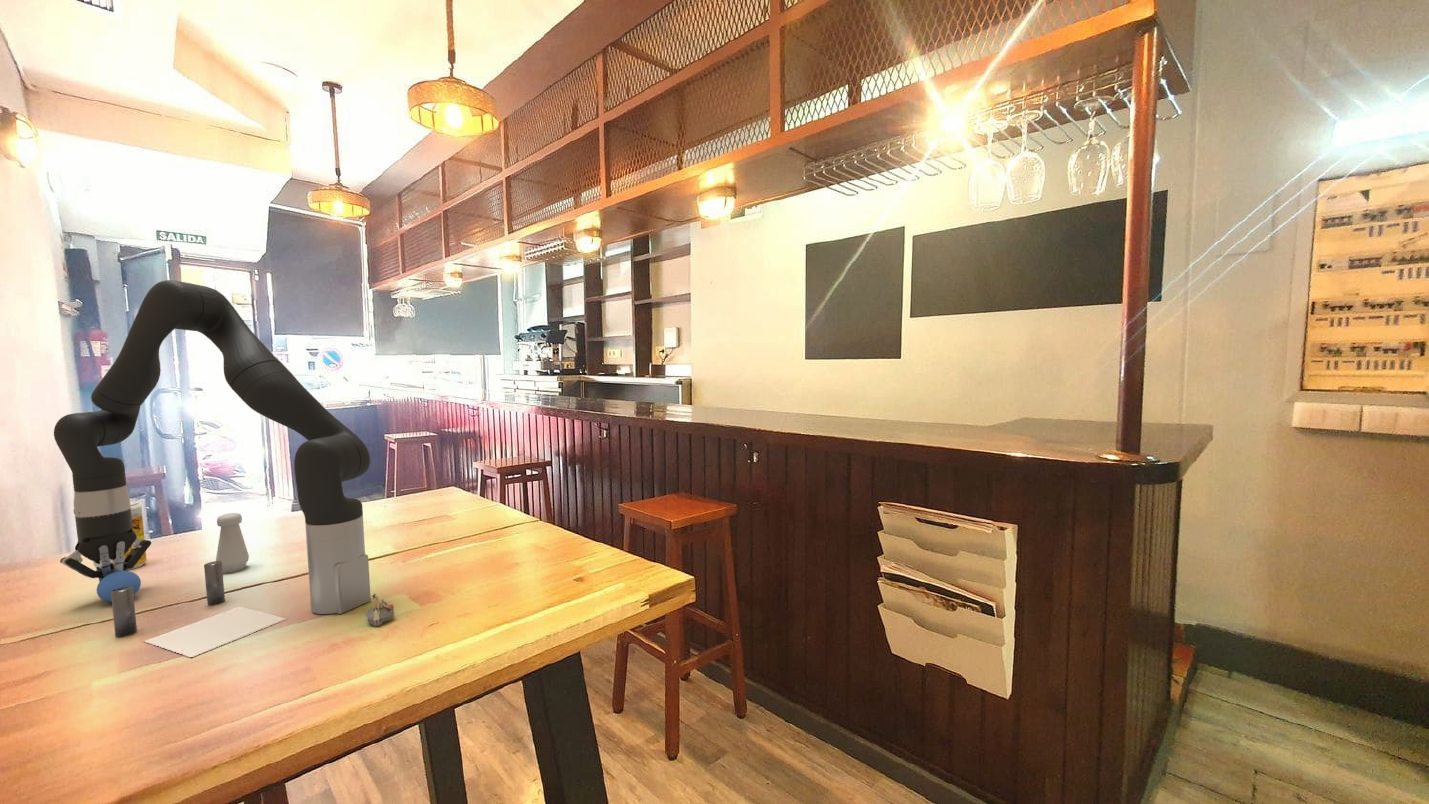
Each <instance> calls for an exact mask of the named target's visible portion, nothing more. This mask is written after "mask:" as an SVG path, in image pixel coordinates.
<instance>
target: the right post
mask: <svg viewBox="0 0 1429 804" xmlns="http://www.w3.org/2000/svg"><path fill="white" fill-rule="evenodd" d="M203 569H204V570H203V571H204V580H205V592H206V593H205V594H206V602H207V604H208V605H207V606H216V605H215V604H217V605H219V604H223V603H225V602H226V596H225V585H224V584H225V583H224V573H223V569H222V561H216V560H214V561H209V562H207V563H205V564H203Z"/></svg>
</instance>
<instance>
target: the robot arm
mask: <svg viewBox="0 0 1429 804" xmlns="http://www.w3.org/2000/svg"><path fill="white" fill-rule="evenodd" d="M174 330H184V331H192V332H198V333H201V334H202V335H204V336H205V337H206V338H207V339H209V340H210V341H211V342H212V343H213V344H214V345H215V346H216V348H217V349H218V350H219V351H220V352H221V354H222V357H223V375H224V379H225V382H226V383H227V384H228V385H229V387H230V388H231V390H232V391H233V392H234V393H235V394H236V395H237V396H238V397H239V398H240V399H241V401H243V402H244V404H246V405H247V407H248V408H250V409H251V410H252V411H254V412H256V413H257V414H259V415H261V416H263V417H265V418H267V419H269V420H271V421H273V422H276V423H278V424H280V425H282V426H284V427H286V428H288V429H290V430H293V431H295V432H296V433H297V434H299V435H301V436H302V437H304V438H305V440H306V441H304V442H302V444H300V445H299V447H298V448H297V450H296V452H295V454H294V462H293V464H294V465H293V468H294V476H295V477H294V478H295V486H296V491H297V492H296V493H297V501H298V504H299V508H300V510H301V512H302V513H303V515H304V516H303V517H304V523H305V536H306V537H305V538H306V551H307V553H306V554H307V568H308V569H307V571H308V580H309V583H308V584H309V593H310V594H309V596H310V608H311V609H310V610H311V612H312V613H313V614H318V615H331V614H338V615H339V614H344V613H346V612H349V611H350V610H352V609H356V608H358V607H360V606H361V605H364V604H367V603H369V602H371V601H372V600H371V599H372V598H371V597H372V596H371V582H370V565H369V563H370V562H369V555H368V554H366V549H365V548H366V546H365V531H364V528H365V527H364V511H363V503H362V501H361V500H359V499H357V498H353V497H346V496H345V494H344V490H343V484H342V483H343V482H347V481H350V480H354V479H356V478H359V477H360V476H363V475H364V474H365V473H366V472H368V470H369V468H370V464H371V456H370V452H369V450H368V447H367V445H366V444H365V443H364V442H363V441H362V440H361V438H359V436H358V435H356V434H355V432H353V431H352V430H351V429H350V428H349V427H347V426H346V425H345V424H344V423H342V422H341V421H340V419H337V418H336V417H335V416H334V415H333V414H332V413H330V412H329V410H327V409H326V408H325V407H324V406H323V405H322V404H321V403H320V402H319V401H318V400H317V399H316V398H315V397H314V396H313V395H312V393H310V392H309V391H308V389H306V388H305V387H304V386H303V385H302V384H301V382H300V381H299V380H298V379H297V378H296V376H295V375H294V374H293V373H292V372H291V371H290V370H289V369H288V368H287V367H286V366H285V365H284V364H283V362H282V361H281V360H279V359H278V358H277V357H276V356H275V355H274V353H272V352H271V351H270V349H268V347H266V345H265V344H264V343H263V342H262V340H261V339H260V338H258V337H257V335H255V333H254V332H253V331H252V330H251V328H250V327H249V326H248V325H247V323H246V322H245V321H244V319H243V318H242V317H241V315H240V314H239V312H237V310H236V309H235V307H234V306H233V305H232V303H231V302H230V301H229V300H228V298H227V297H226V296H225V295H224V294H223V293H222V292H220V291H218V290H217V289H215V288H212V287H209V286H207V285H206V286H205V285H200V284H196V283H191V282H185V281H180V280H173V279H167V280H166V279H165V280H162V281H159V282H156V284H154V285H153V286H152V287H151V288H150V289H149V290H148V292H147V293H146V295H145V296H144V298H143V300H142V302H141V304H140V305H139V308H138V311H137V313H136V315H135V318H134V320H133V322H132V324H131V327H130V329H129V331H128V333H127V336H126V338H125V341H124V343H123V345H122V348H121V350H120V352H119V354H118V355H117V357H116V359H115V361H114V362H113V364H111V367H110V368H109V369H108V371H106V373H105V375H104V376H103V377H102V379H101V380H100V381H99V383H98V384H97V385H96V386H95V388H94V390H93V391H92V393H91V396H90V398H91V402H92V404H94V406H96V407H97V408H99V409H100V410H98V411H87V412H75V413H69V414H66V415H64V416H62V417H60V419H58V421H57V422H56V424H55V425H54V428H53V429H54V430H53V437H54V440H55V441H54V442H55V443H56V445H57V447H58V449H59V450H60V452H61V454H62V456H63V459H65V462H66V463H67V465H68V467H69V469H70V470H71V475H72V485H73V492H74V494H73V496H74V497H73V514H74V520H75V526H76V527H75V529H76V535H77V536H76V537H77V542H76V544H75V546H74V551H73V552H72V553H70V554H69V555H68V556H66V557H65V556H64V557H62V558H61V559H60V560H59V561H60V564H63V566H66V567H68V568H69V569H72V570H73V571H75V572H77V573H79V574H81V575H82V576H84V577H87V578H90V579H97V578H98V583H99V582H100V581H101V580H102V579H103V578H104V577H106V576H107V575H109V574H111V573H114V572H117V571H125V570H126V571H128V570H127V569H131V568H133V567H134V566H135V564H136V563H137V562H138V561H139V559H140V558H141V557H142V555H143V554H144V553H145V551H146V552H147V550H148V549H149V547H151V545H152V541H151V540H147V539H145V540H143V539H140V538H137V535H136V534H135V533H134V532H133V525H132V515H131V506H130V501H131V499H130V497H131V496H130V493H129V490H128V486H127V478H126V469H125V464H124V461H123V460H122V459H120V458H118V457H112V456H110V457H109V456H105V457H104V456H103V455H102V453H101V452H100V450H99V448H98V447H105V446H110V445H111V446H112V445H116V444H120V443H121V442H124V441H125V440H126V439H128V438H129V437H130V436H131V435H132V434H133V432H134V431H135V428H136V425H137V421H138V417H139V414H140V409H141V406H142V405H144V402H145V401H146V399H148V397H149V396H150V394H151V393H152V392H153V390H154V389H155V388H156V386H157V384H158V383H159V380H160V376H161V371H162V370H161V363H160V362H161V361H160V360H161V359H160V348H161V346H162V343H163V341H164V340H165V339H166V338H167V337H168V336H169V334H171V333H172V332H173V331H174ZM132 544H133V545H132ZM131 545H132V548H133V549H132V550H131V551H130V553H129V554H128V555H127V557H126V558H125V559H124V554H125V553H126V552H127V551H128V550H129V548H130V547H131ZM82 556H83V557H85V558H86V559H87V560H89V561H92V563H93V566H94V567H95V570H94V569H92V568H90V567H89V566H87V565H85V564H83V563H82V562H83V561H84V560H83V558H82ZM131 570H132V569H131Z"/></svg>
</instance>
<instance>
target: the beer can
mask: <svg viewBox="0 0 1429 804" xmlns="http://www.w3.org/2000/svg"><path fill="white" fill-rule="evenodd" d="M130 506H131V515H132V525H133V532H134V533H135V534H136V535H137V538H140V539H143V540H146V539H145V530H144V521H143V520H144V519H143V508H142V505H141V504H140V502H139V501H137V500H136V501H133V500H132V501H131V500H130ZM132 545H133V544H132ZM132 545H131V547H130V548H129V550H128V551H127V552H126V553H125V554H124V559H125V558H126V557H127V555H128V554H129V553H130V551H131V550H132V549H133V548H132ZM146 562H147V550H146V551H145V553H144V554H143V555H142V557H141V558H140V559H139V561H138V562H137V563H136V564H135V566H134V567H133V568H131V569H127V570H125V571H130V570H135V569H138V568H141V567H142V565H143V564H144V565H145V563H146ZM144 565H143V566H144Z"/></svg>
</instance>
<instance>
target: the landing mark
mask: <svg viewBox="0 0 1429 804" xmlns="http://www.w3.org/2000/svg"><path fill="white" fill-rule="evenodd" d="M286 620H287V618H284V617H282V616H278V615H273V614H270V613H266V612H263V611H259V610H255V609H253V608H252V609H251V608H249V607H243V606H241V605H240V606H238V607H235V608H231V609H229V610H226V611H223V612H221V613H218V614H215V615H212V616H209V617H207V618H204V619H201V620H198V621H196V622H192V623H190V624H188V625H185V626H182V627H179V628H177V629H174V630H170V631H168V632H165V633H163V634H159V635H157V636H154V637H152V638H148V639H146V640H144V641H143V642H144V643H145V644H148V645H151V646H154V645H155V646H154V647H157V646H159V647H158V648H160V647H161V648H160V649H162V648H165V649H167V650H166V651H168V650H171V651H173V652H172V653H174V652H176V653H175V654H177V653H179V654H178V655H180V654H182V653H183V655H185V656H188V657H193V658H195V657H194V656H196V657H198V656H200V655H199V654H201V655H203V654H204V653H203V652H206V651H208V652H210V651H209V650H211V649H213V650H215V649H214V648H216V647H218V648H220V647H222V646H221V645H223V646H225V645H227V643H228V644H230V643H232V641H233V642H235V641H238V640H240V639H242V638H244V636H245V637H248V636H249V634H250V635H251V634H254V632H255V633H257V632H260V631H262V630H264V628H265V629H267V628H268V627H271V625H272V626H274V625H276V624H278V623H281V622H284V621H286ZM266 627H267V628H266ZM261 629H262V630H261ZM259 630H260V631H259ZM256 631H257V632H256ZM237 639H238V640H237ZM234 640H235V641H234ZM229 642H230V643H229ZM224 644H225V645H224ZM219 646H220V647H219ZM165 649H164V650H165ZM216 649H217V648H216ZM182 650H183V651H182ZM171 651H170V652H171ZM211 651H212V650H211ZM202 653H203V654H202ZM206 653H207V652H206ZM183 655H182V656H183ZM197 655H198V656H197ZM185 656H184V657H185ZM188 657H187V658H188Z"/></svg>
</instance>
